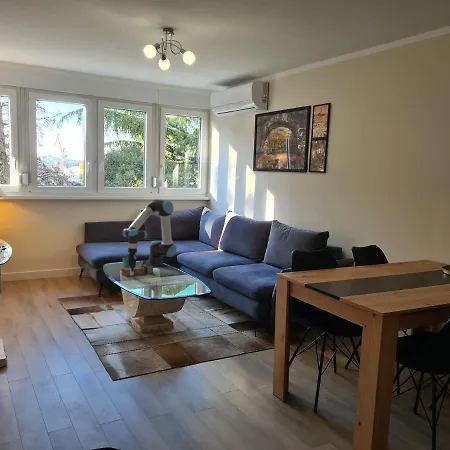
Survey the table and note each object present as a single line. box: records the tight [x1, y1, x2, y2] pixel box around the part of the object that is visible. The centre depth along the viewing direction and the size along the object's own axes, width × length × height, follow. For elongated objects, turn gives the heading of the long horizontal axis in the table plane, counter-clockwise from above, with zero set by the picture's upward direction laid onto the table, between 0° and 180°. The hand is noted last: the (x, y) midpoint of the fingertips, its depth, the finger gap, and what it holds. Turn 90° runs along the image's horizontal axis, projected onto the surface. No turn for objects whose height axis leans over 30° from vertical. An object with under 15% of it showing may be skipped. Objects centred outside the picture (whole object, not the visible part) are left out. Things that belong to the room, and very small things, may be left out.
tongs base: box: [120, 266, 148, 276], centre depth 387 cm, size 24×6×5 cm, turn 129°
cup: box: [117, 253, 130, 268], centre depth 398 cm, size 14×8×15 cm, turn 115°
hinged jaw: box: [123, 268, 145, 277], centre depth 383 cm, size 18×3×5 cm, turn 128°
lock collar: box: [141, 260, 154, 274], centre depth 393 cm, size 6×10×10 cm, turn 39°
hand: (131, 275), depth 375 cm, fingers closed
